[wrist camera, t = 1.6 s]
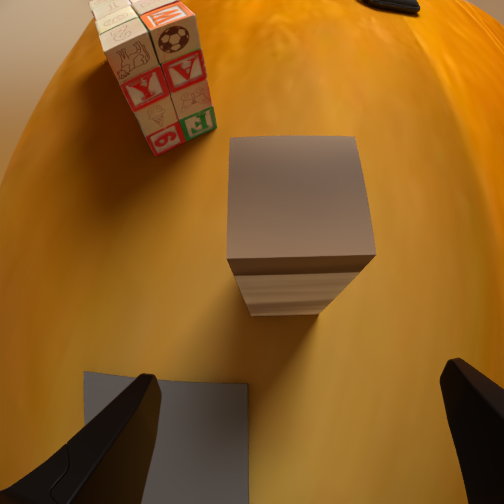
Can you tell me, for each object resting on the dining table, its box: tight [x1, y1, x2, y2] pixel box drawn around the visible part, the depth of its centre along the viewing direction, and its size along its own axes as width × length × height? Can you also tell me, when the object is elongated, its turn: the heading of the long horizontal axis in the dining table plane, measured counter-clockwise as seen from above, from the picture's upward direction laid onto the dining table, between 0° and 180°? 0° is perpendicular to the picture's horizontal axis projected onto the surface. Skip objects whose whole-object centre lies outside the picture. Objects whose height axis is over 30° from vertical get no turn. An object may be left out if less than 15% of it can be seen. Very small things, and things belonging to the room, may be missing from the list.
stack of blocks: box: [89, 0, 217, 157], centre depth 24 cm, size 21×6×12 cm, turn 27°
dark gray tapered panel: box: [84, 371, 249, 504], centre depth 17 cm, size 18×12×1 cm, turn 0°
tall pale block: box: [227, 136, 376, 316], centre depth 16 cm, size 5×5×12 cm
